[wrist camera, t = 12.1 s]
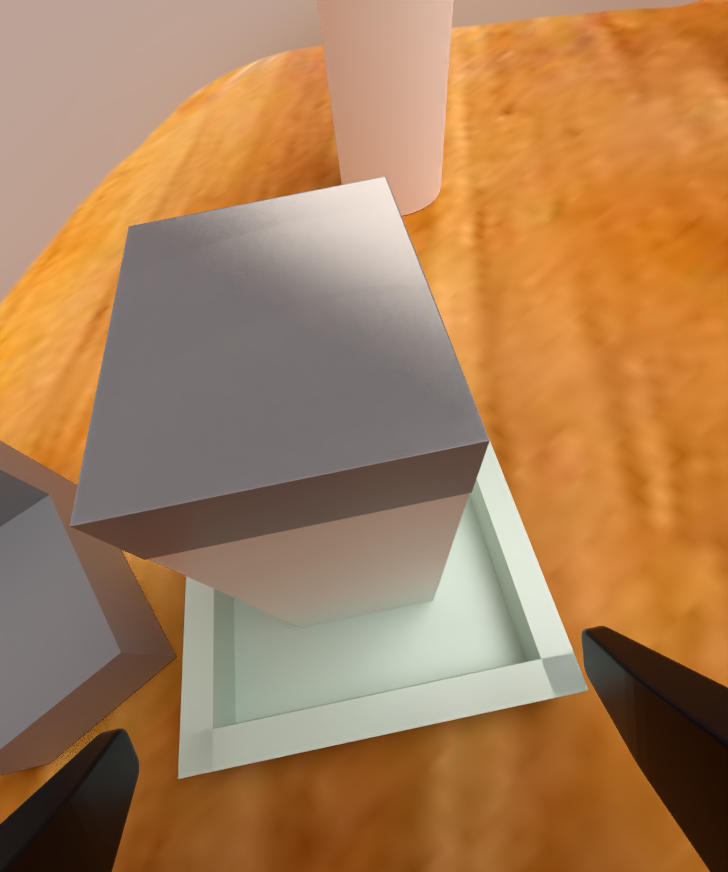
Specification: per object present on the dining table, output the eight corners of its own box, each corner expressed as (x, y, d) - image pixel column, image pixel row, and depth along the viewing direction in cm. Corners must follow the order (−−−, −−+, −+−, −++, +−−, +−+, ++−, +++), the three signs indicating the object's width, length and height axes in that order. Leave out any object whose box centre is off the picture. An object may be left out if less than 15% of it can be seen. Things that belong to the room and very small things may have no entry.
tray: (561, 688, 14) (588, 690, 12) (213, 762, 14) (178, 779, 12) (451, 389, 21) (456, 355, 18) (215, 437, 20) (192, 409, 18)
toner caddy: (434, 600, 15) (489, 441, 5) (300, 628, 15) (69, 526, 5) (398, 458, 18) (385, 176, 8) (286, 481, 18) (128, 226, 8)
